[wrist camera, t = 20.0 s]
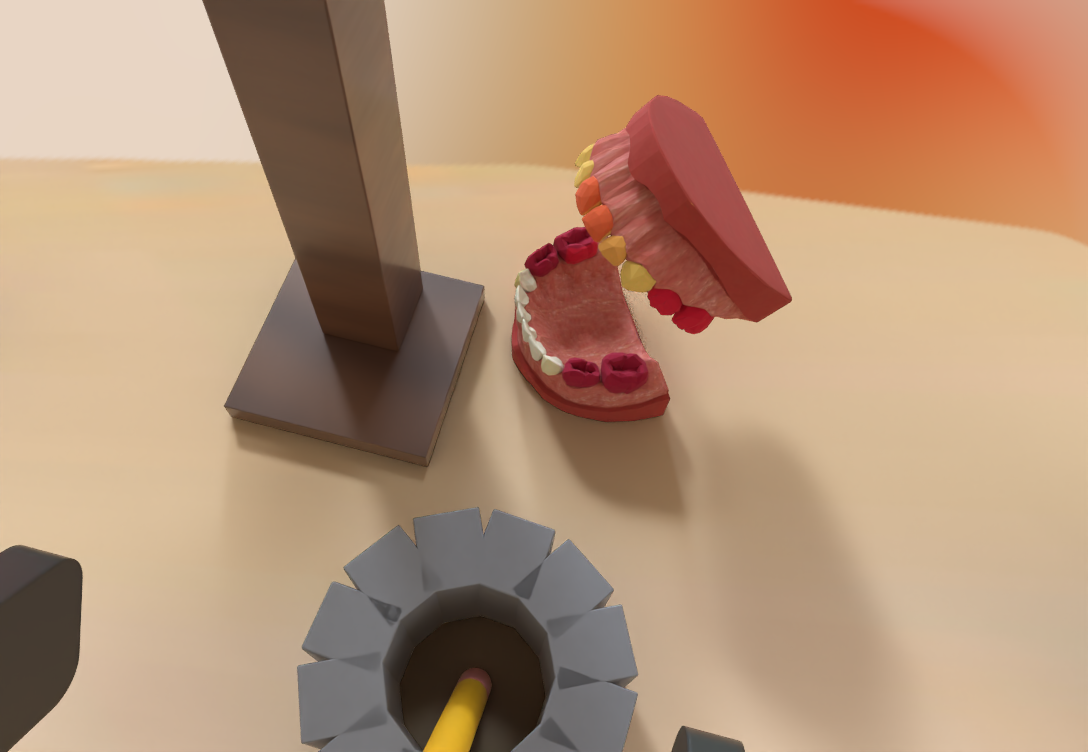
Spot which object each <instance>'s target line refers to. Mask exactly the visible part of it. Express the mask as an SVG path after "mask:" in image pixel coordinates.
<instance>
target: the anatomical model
mask: <svg viewBox="0 0 1088 752" xmlns="http://www.w3.org/2000/svg"><path fill="white" fill-rule="evenodd" d="M575 166H577V167H579V168H580V169H579V171H578V173H577V176H576V178H575V183H574V186H575V187H576V188H578V190H577V192H576V194H575V195H576V203H577V208H578V210H579V212H580V214H581V215H583V216H584V215H585V216H584V217H583V218H582V221H583V223H584V225H585V227H576V228H573V229H571V230H569V231H567V232H565V233H563V234H561V235H559V236H557V237H556V238H555V240H554V244H553V245H552V244H550V243H548V244H546V245H545V246H543V247H542V248H540V249H537V250H536V251H535V252H533V253H532V254H531V255H530V256H528V258H527V260H526V262H525V267H526V269H524V270H522V271H520V272H519V273H518V275H517V278H516V280H515V284H514V285H515V287H516V293H515V298H514V299H515V319H514V324H513V328H512V357H513V360H514V362H515V363H516V365H517V367H518V368H519V370H520V372H521V373H522V374H523V376H524V377H525V378H526V380H527V381H528V382H529V383H530V384H532V386H533V387H534V388H535V390H536V391H537V392H538V393H539V395H540V396H541V397H542V398H543V399H545V400H546V401H547V402H549V403H550V404H552V405H554V406H555V407H557V408H559V409H560V410H562V411H564V412H567V413H570V414H573V415H576V416H579V417H584V418H589V419H594V420H599V421H604V422H615V421H635V420H640V419H646V418H651V417H656V416H660V415H663V414H664V411H665V409H666V407H667V405H668V403H669V400H670V397H669V394H668V391H669V390H668V387H667V385H666V382H665V379H664V377H663V374H662V372H661V369H660V366H659V364H658V362H657V361H655V360H654V359H653V358H650V357H649V355H648V354H647V353H646V351H645V349H644V347H643V345H642V342H641V340H640V337H639V334H638V332H637V329H636V327H635V324H634V321H633V319H632V316H631V314H630V311H629V308H628V306H627V303H626V301H625V298H624V295H623V292H622V287H624V288H625V289H627V290H630V291H636V292H642V293H643V292H648V296H647V297H648V299H649V300H650V306H652V307H654V308H656V309H657V310H658V312H659V313H660V314H661V315H672V314H674V313H675V314H674V316H673V318H672V321H673V323H674V324H676V325H677V327H678V328H680V329H681V330H682V329H685V332H687V333H691V334H696V333H700V332H702V331H703V330H704V329H706V328H707V327H708V325H709V324H710V323H711V322H712V320H713V319H714V317H720V318H724V319H734V318H739V319H743V320H748V321H753V322H759V321H760V320H762V319H764V318H765V317H767V316H769V315H770V314H772V313H773V312H775V311H777V310H778V309H780V308H782V307H783V306H785V305H787V304H788V303H790V302H791V301H792V297H791V295H790V293H789V291H788V289H787V287H786V285H785V282H784V280H783V278H782V276H781V274H780V272H779V270H778V268H777V266H776V264H775V262H774V260H773V258H772V256H771V254H770V252H769V250H768V247H767V245H766V243H765V241H764V239H763V237H762V235H761V233H760V231H759V229H758V227H757V225H756V223H755V221H754V219H753V217H752V215H751V213H750V211H749V209H748V206H747V204H746V202H745V200H744V198H743V196H742V194H741V192H740V190H739V188H738V186H737V185H736V182H735V181H734V179H733V177H732V174H731V172H730V170H729V169H728V167H727V164H726V162H725V161H724V158H723V156H722V155H721V153H720V150H719V149H718V146H717V144H716V142H715V141H714V139H713V137H712V135H711V133H710V131H709V129H708V127H707V125H706V123H705V121H704V119H703V118H702V117H701V116H700V115H699V114H698V113H696V112H695V111H693V110H692V109H690V108H688V107H687V106H685V105H684V104H682V103H681V102H679V101H677V100H675V99H672V98H670V97H668V96H659V95H657V96H655V97H654V98H653V99H651V100H650V101H649V102H648V103H647V104H646V105H644V106H643V107H642V108H641V109H640V110H639V111H637V112H636V113H635V114H634V115H633V117H632V118H631V120H630V121H629V123H628V125H627V126H626V128H625V129H623V130H622V131H620V132H619V133H616V134H611V135H609V136H606V137H603V138H601V139H598V140H597V141H596V143H595V144H591V145H589V146H588V147H587V148H586V149H585V150H584V151H583V152H581V153H580V155H579V157H578V159H577V160H576V162H575ZM601 204H602V205H601ZM600 205H601V206H600ZM609 235H611V236H610V237H608V236H609ZM625 259H626V260H627V261H626V262H625V263H623V261H624V260H625ZM621 263H623V266H622V269H621V274H620V275H621V282H620V277H619V272H618V267H617V266H619V265H620V264H621ZM621 284H622V287H621Z"/></svg>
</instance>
